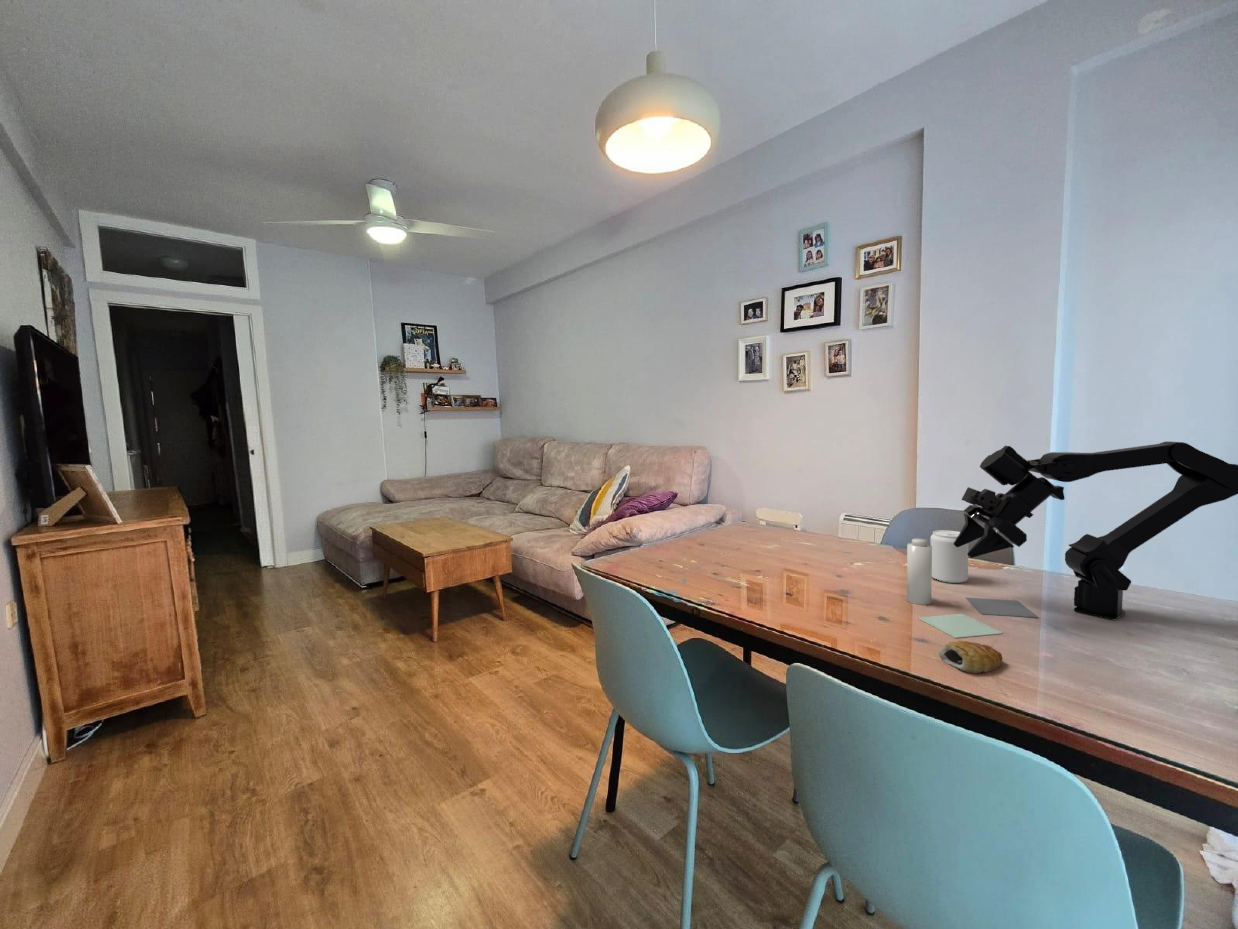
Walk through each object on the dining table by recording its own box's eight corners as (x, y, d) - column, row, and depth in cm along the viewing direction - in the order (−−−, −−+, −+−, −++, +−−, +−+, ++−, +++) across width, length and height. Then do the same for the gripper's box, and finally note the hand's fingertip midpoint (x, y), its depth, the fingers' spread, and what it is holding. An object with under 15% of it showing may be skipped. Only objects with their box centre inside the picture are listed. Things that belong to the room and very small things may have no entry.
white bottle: (935, 601, 115) (936, 540, 114) (924, 606, 112) (924, 543, 111) (914, 596, 119) (914, 536, 118) (902, 600, 117) (903, 539, 115)
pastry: (978, 652, 91) (978, 631, 91) (1015, 669, 84) (1016, 647, 84) (935, 659, 89) (935, 638, 88) (969, 678, 82) (970, 655, 82)
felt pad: (1017, 601, 113) (1017, 600, 113) (1038, 618, 104) (1038, 617, 104) (965, 598, 116) (965, 597, 116) (981, 614, 107) (981, 613, 107)
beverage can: (923, 577, 132) (923, 532, 131) (943, 572, 135) (943, 528, 134) (954, 586, 125) (955, 538, 124) (975, 581, 128) (975, 534, 127)
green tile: (961, 614, 107) (961, 613, 107) (1002, 633, 97) (1002, 632, 97) (918, 618, 106) (918, 617, 106) (955, 638, 96) (955, 637, 96)
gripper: (973, 470, 118) (920, 517, 122) (1007, 479, 100) (944, 534, 105) (1014, 503, 116) (959, 550, 120) (1055, 518, 99) (990, 572, 103)
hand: (961, 550), depth 112 cm, fingers open, 9 cm apart
